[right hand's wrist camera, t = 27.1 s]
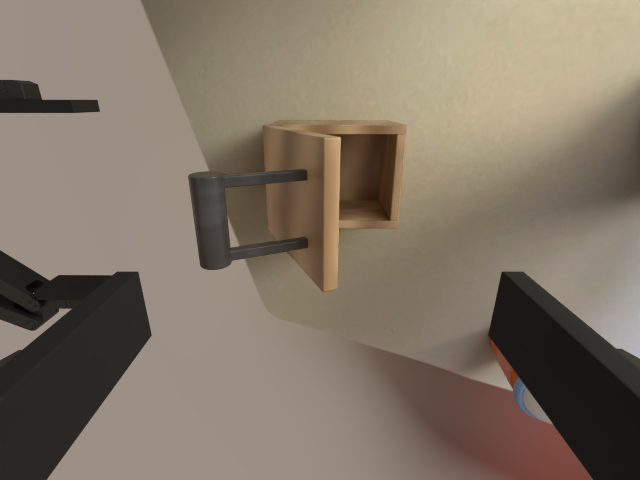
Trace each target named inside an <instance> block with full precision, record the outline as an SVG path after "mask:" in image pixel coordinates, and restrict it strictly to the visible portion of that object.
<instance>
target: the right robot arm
mask: <svg viewBox="0 0 640 480" xmlns="http://www.w3.org/2000/svg"><path fill="white" fill-rule="evenodd" d="M150 337H151V330H150V325H149V321H148V316H147V311H146V307H145V302H144V297H143V292H142V288H141V283H140V278H139V273H138V272H116V273H115V274H114V275H112V276H111V277H110V278H109V279H108V280H106V281H105V282H104V283H103V284H102V285H100V286H99V287H98V288H97V289H96V290H94V291H93V292H92V293H91V294H89V295H88V296H87V297H86V298H85V299H83V300H82V301H81V302H80V303H79V304H77V305H76V306H75V307H74V308H73V309H71V310H70V311H69V312H68V313H67V314H65V315H64V316H63V317H62V318H60V319H59V320H58V321H57V322H56V323H55V324H53V325H52V326H51V327H50V328H48V329H47V330H46V331H45V332H44V333H42V334H41V335H40V336H39V337H38V338H36V339H35V340H34V341H33V342H31V343H30V344H29V345H28V346H27V347H25V348H24V349H23V350H18V351H16V352H15V353H13V354H11V355H9V356H7V357H5V358H4V359H2V360H0V480H47V478H48V477H49V476H50V474H51V473H52V471H53V470H54V469H55V467H56V466H57V465H58V463H59V462H60V461H61V459H62V458H63V456H64V455H65V454H66V452H67V451H68V450H69V448H70V447H71V445H72V444H73V443H74V441H75V440H76V439H77V437H78V436H79V434H80V433H81V432H82V430H83V429H84V428H85V426H86V425H87V423H88V422H89V421H90V419H91V418H92V417H93V415H94V414H95V412H96V411H97V410H98V408H99V407H100V406H101V404H102V403H103V401H104V400H105V399H106V397H107V396H108V395H109V393H110V392H111V390H112V389H113V388H114V386H115V385H116V384H117V382H118V381H119V379H120V378H121V377H122V375H123V374H124V373H125V371H126V370H127V368H128V367H129V366H130V364H131V363H132V362H133V360H134V359H135V357H136V356H137V355H138V353H139V352H140V351H141V349H142V348H143V346H144V345H145V344H146V342H147V341H148V340H149V338H150ZM489 337H490V338H491V340H492V341H493V342H494V344H495V345H496V346H497V348H498V349H499V351H500V352H501V353H502V355H503V356H504V357H505V359H506V360H507V362H508V363H509V364H510V366H511V367H512V368H513V370H514V371H515V373H516V374H517V375H518V377H519V378H520V379H521V381H522V382H523V384H524V385H525V386H526V388H527V389H528V390H529V392H530V393H531V395H532V396H533V397H534V399H535V400H536V401H537V403H538V404H539V406H540V407H541V408H542V410H543V411H544V412H545V414H546V415H547V417H548V418H549V419H550V421H551V422H552V423H553V425H554V426H555V428H556V429H557V430H558V432H559V433H560V434H561V436H562V437H563V438H564V440H565V441H566V443H567V444H568V445H569V447H570V448H571V450H572V451H573V452H574V454H575V455H576V456H577V458H578V459H579V461H580V462H581V463H582V465H583V466H584V467H585V469H586V470H587V472H588V473H589V474H590V476H591V477H592V478H593V480H640V359H639V358H637V357H636V356H634V355H632V354H630V353H628V352H626V351H624V350H623V349H616V348H615V347H613V346H612V345H611V344H610V343H609V342H607V341H606V340H605V339H604V338H603V337H601V336H600V335H599V334H598V333H596V332H595V331H594V330H593V329H592V328H590V327H589V326H588V325H587V324H586V323H584V322H583V321H582V320H581V319H580V318H578V317H577V316H576V315H575V314H573V313H572V312H571V311H570V310H569V309H567V308H566V307H565V306H564V305H563V304H561V303H560V302H559V301H558V300H557V299H555V298H554V297H553V296H552V295H551V294H549V293H548V292H547V291H546V290H544V289H543V288H542V287H541V286H540V285H538V284H537V283H536V282H535V281H534V280H532V279H531V278H530V277H529V276H528V275H526V274H525V273H524V272H502V273H501V278H500V283H499V287H498V292H497V297H496V302H495V306H494V311H493V316H492V321H491V325H490V330H489Z"/></svg>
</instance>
